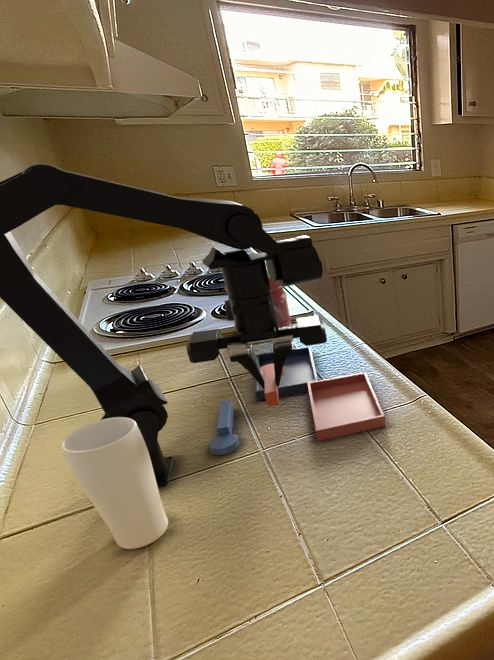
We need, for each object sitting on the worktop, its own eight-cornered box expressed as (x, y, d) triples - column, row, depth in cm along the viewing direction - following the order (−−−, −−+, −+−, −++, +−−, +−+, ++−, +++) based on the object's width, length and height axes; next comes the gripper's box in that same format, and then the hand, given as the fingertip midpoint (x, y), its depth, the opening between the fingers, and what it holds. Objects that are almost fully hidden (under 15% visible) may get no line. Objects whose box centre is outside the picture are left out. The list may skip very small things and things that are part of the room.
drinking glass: (127, 566, 53) (75, 460, 46) (100, 540, 56) (48, 439, 49) (187, 527, 58) (149, 427, 51) (159, 506, 61) (119, 410, 54)
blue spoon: (216, 414, 81) (213, 402, 80) (241, 409, 82) (238, 398, 81) (209, 457, 70) (205, 445, 69) (238, 451, 71) (235, 438, 70)
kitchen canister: (256, 344, 107) (239, 269, 99) (225, 332, 114) (206, 261, 106) (303, 326, 117) (291, 257, 109) (271, 316, 123) (257, 250, 115)
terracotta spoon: (287, 403, 71) (284, 389, 70) (259, 408, 70) (255, 395, 69) (284, 367, 82) (281, 355, 81) (259, 371, 81) (256, 359, 80)
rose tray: (385, 426, 78) (384, 416, 77) (317, 441, 74) (315, 430, 73) (366, 380, 92) (365, 371, 91) (308, 391, 88) (307, 382, 87)
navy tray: (319, 389, 88) (318, 380, 88) (257, 401, 85) (254, 392, 84) (311, 354, 102) (310, 346, 102) (257, 362, 99) (255, 354, 98)
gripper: (312, 272, 77) (326, 356, 84) (184, 285, 70) (210, 375, 77) (319, 291, 68) (334, 384, 75) (172, 308, 61) (203, 408, 68)
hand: (271, 386), depth 74 cm, fingers closed on terracotta spoon, 2 cm apart
